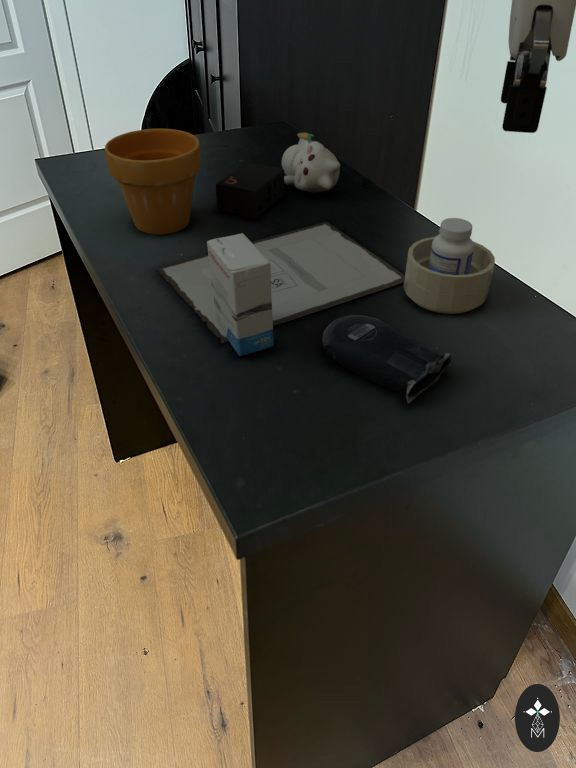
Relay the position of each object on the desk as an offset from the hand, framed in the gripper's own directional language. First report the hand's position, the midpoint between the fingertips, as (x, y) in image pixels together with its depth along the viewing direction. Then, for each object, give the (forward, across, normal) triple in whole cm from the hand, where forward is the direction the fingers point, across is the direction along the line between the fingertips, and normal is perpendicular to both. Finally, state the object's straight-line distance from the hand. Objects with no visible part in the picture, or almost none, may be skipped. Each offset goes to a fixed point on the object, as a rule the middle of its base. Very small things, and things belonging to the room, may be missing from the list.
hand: (517, 116), depth 66 cm
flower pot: (+26, +21, +50) cm, 60 cm away
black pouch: (+27, -8, +11) cm, 30 cm away
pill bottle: (+26, +9, +4) cm, 28 cm away
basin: (+26, +9, +4) cm, 28 cm away
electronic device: (+26, +32, +38) cm, 56 cm away
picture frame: (+26, +9, +27) cm, 39 cm away
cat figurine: (+26, +40, +30) cm, 56 cm away
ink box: (+26, -7, +28) cm, 39 cm away
